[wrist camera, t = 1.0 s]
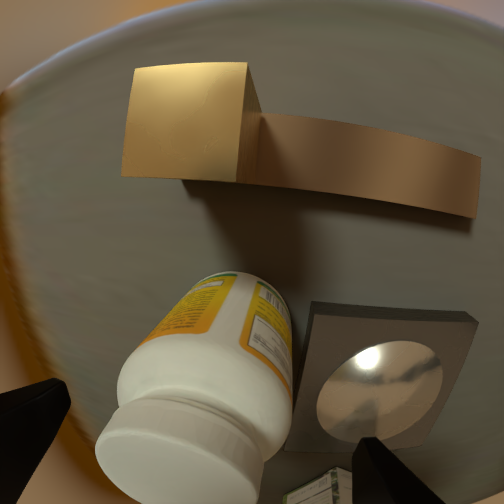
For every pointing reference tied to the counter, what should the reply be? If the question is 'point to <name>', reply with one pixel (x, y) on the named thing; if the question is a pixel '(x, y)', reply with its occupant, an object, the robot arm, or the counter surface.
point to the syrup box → (324, 489)
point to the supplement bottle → (204, 397)
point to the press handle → (193, 123)
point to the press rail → (366, 164)
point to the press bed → (375, 375)
